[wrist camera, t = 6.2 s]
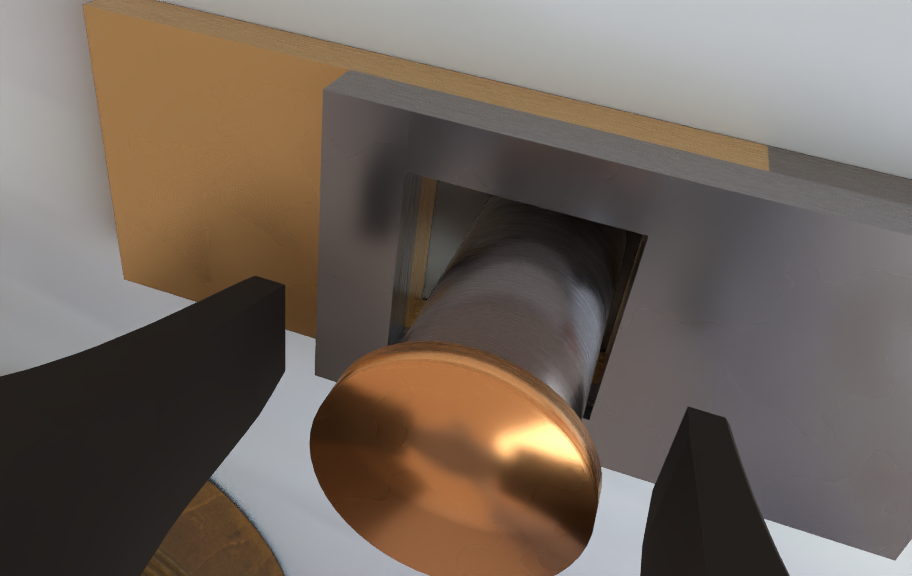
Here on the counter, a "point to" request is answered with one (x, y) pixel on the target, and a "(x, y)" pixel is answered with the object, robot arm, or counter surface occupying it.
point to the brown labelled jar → (213, 542)
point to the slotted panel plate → (547, 186)
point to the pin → (481, 405)
